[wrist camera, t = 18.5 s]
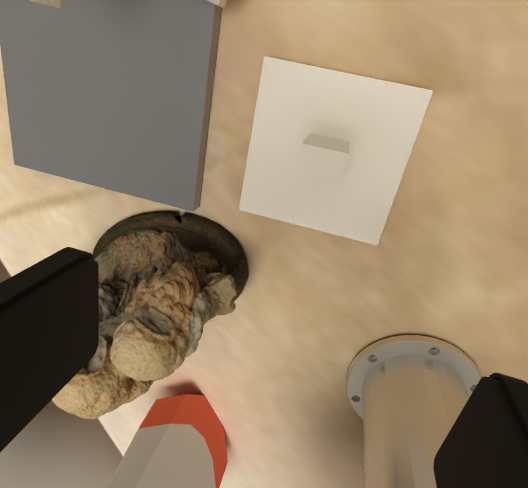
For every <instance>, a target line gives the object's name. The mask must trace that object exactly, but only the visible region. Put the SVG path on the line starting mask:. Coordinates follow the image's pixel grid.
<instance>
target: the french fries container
mask: <svg viewBox="0 0 528 488" xmlns="http://www.w3.org/2000/svg"><path fill="white" fill-rule="evenodd" d="M226 465H227V452H226V442H225V432H224V427H223V426H222V424H221V422H220V421H219V419H218V417H217V416H216V414H215V412H214V411H213V409H212V407H211V406H210V404H209V402H208V401H207V399H206V397H205V396H204V395H192V394H183V395H178V396H173V397H167V398H162V399H157V400H156V401H155V403H154V404H153V406H152V407H151V409H150V411H149V412H148V414H147V416H146V417H145V419H144V420H143V422H142V424H141V425H140V427H139V429H138V431H137V432H136V434H135V436H134V438H133V440H132V442H131V444H130V446H129V447H128V449H127V451H126V453H125V455H124V457H123V459H122V461H121V463H120V464H119V466H118V468H117V470H116V472H115V474H114V476H113V478H112V480H111V481H110V483H109V485H108V487H107V488H219V487H220V484H221V481H222V477H223V474H224V471H225V468H226Z"/></svg>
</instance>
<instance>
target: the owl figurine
mask: <svg viewBox="0 0 528 488" xmlns="http://www.w3.org/2000/svg"><path fill="white" fill-rule="evenodd" d="M177 215H180V214H179V213H178V212H174V211H155V212H149V213H144V214H140V215H135V216H132V217H130V218H127V219H125V220H122V221H121V222H119V223H117V224H116V225H114V226H113V227H111V228H110V229H109V230H107V231H106V232H105V233H104V234H103V235H102V237H101V238H100V239H99V240H98V242H97V244H96V246H95V248H94V251H93V257H94V260H95V261H96V262H97V263H98V270H99V345H98V349H97V351H96V353H95V355H94V356H93V358H92V359H91V360H90V361H89V362H88V363H87V364H86V365H85V366H84V367H83V368H82V369H81V370H80V371H79V372H78V373H77V374H76V375H75V376H74V377H73V378H72V379H71V380H70V381H69V382H68V383H67V384H66V385H65V386H64V387H63V388H62V389H61V391H60V392H59V393H58V394H57V395H56V396H55V397H54V398H53V399H52V401H53V402H54V403H55V404H56V406H58V407H60V408H61V409H63V410H65V411H67V412H69V413H73V414H75V415H77V416H79V417H82V418H83V419H86V418H87V419H89V418H92V419H95V418H97V417H99V416H101V415H104V414H105V413H107V412H109V413H110V412H111V411H113V410H115V409H116V408H118V407H119V406H121V405H122V404H125V403H128V402H131V401H133V400H134V399H136V398H137V397H138V396H140V395H143V394H145V393H146V392H147V391H148V389H149V387H150V386H151V385H152V383H153V381H156V380H160V379H163V378H165V377H167V376H169V375H171V374H172V373H173V372H174V370H175V369H177V368H178V367H179V366H181V365H182V363H183V362H184V359H185V357H188V356H190V355H191V354H192V353H193V352H195V351H196V349H197V347H198V341H199V340H200V338H201V335H202V332H203V325H204V324H205V323H206V322H207V321H208V320H209V319H211V318H213V317H215V316H216V315H226V314H229V313H231V312H232V311H234V309H235V307H236V306H235V304H234V301H235V300H236V299H237V298H238V297H239V295H240V294H241V293H242V291H243V289H244V287H245V284H246V281H247V278H248V266H247V261H246V258H245V256H244V253H243V251H242V247H241V245H240V244H239V242H238V241H237V240H236V238H235V237H234V236H233V235H231V234H230V233H229V232H228V231H227V230H225V229H224V228H223V227H222V226H221V225H219V224H217V223H215V222H213V221H211V220H209V219H206V218H203V217H200V216H195V215H193V214H190V213H186V212H185V214H183V215H181V219H182V223H179V222H178V220H177V219H176V218H175V216H177Z"/></svg>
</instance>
